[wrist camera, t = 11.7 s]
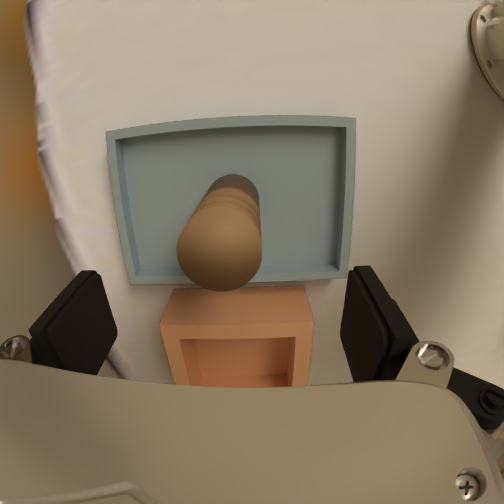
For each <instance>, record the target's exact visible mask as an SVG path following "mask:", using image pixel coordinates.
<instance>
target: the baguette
mask: <svg viewBox="0 0 504 504" xmlns="http://www.w3.org/2000/svg"><path fill="white" fill-rule="evenodd" d="M176 253H177V259H178V263H179V265H180V267H181V269H182V271H183V272H184V274H185V275H186V276H187V277H188V278H189V279H190V280H191V281H192V282H194V283H195V284H196V285H198V286H200V287H202V288H205V289H208V290H211V291H221V292H222V291H231V290H234V289H238V288H240V287H242V286H244V285H245V284H247V283H248V282H249V281H250V280H251V279H252V278H253V277H254V276H255V275H256V273H257V271H258V269H259V267H260V264H261V260H262V241H261V222H260V204H259V194H258V191H257V189H256V187H255V185H254V184H253V183H252V182H251V181H250V180H249V179H247V178H245V177H243V176H240V175H236V174H230V175H225V176H222V177H220V178H218V179H217V180H216V181H215V182H214V183H213V184H212V185H211V186H210V188H209V189H208V191H207V193H206V194H205V196H204V197H203V199H202V200H201V202H200V203H199V205H198V206H197V208H196V209H195V211H194V213H193V214H192V216H191V217H190V219H189V220H188V222H187V224H186V225H185V227H184V228H183V230H182V232H181V233H180V235H179V238H178V241H177V247H176Z"/></svg>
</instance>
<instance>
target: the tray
mask: <svg viewBox="0 0 504 504" xmlns="http://www.w3.org/2000/svg"><path fill="white" fill-rule="evenodd" d="M106 143H107V153H108V163H109V171H110V179H111V186H112V193H113V200H114V206H115V213H116V219H117V224H118V230H119V235H120V241H121V246H122V251H123V256H124V260H125V265H126V269H127V274H128V278H129V283H130V284H195V283H194V282H192V281H191V280H190V279H189V278H188V277H187V276H186V275H185V274H184V272H183V271H182V269H181V267H180V265H179V263H178V259H177V253H176V247H177V241H178V238H179V235H180V233H181V232H182V230H183V228H184V227H185V225H186V224H187V222H188V220H189V219H190V217H191V216H192V214H193V213H194V211H195V209H196V208H197V206H198V205H199V203H200V202H201V200H202V199H203V197H204V196H205V194H206V193H207V191H208V189H209V188H210V186H211V185H212V184H213V183H214V182H215V181H216V180H217V179H218V178H220V177H222V176H225V175H230V174H236V175H240V176H243V177H245V178H247V179H249V180H250V181H251V182H252V183H253V184H254V185H255V187H256V189H257V191H258V194H259V204H260V222H261V241H262V260H261V264H260V267H259V269H258V271H257V273H256V275H255V276H254V277H253V278H252V279H251V280H250V281H249V282H275V281H300V280H322V279H342V278H347V272H348V263H349V253H350V243H351V231H352V219H353V204H354V186H355V160H356V118H350V117H333V116H306V115H262V116H235V117H218V118H204V119H193V120H183V121H174V122H165V123H157V124H150V125H143V126H136V127H130V128H124V129H118V130H113V131H107V132H106Z"/></svg>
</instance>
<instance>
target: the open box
mask: <svg viewBox="0 0 504 504" xmlns="http://www.w3.org/2000/svg"><path fill="white" fill-rule="evenodd" d="M314 322H315V321H314V318H313V314H312V311H311V307H310V304H309V301H308V297H307V294H306V290H305V287H304V286H281V287H253V288H238V289H234V290H231V291H222V292H221V291H211V290H208V289H174V290H173V292H172V294H171V297H170V299H169V302H168V304H167V307H166V309H165V312H164V314H163V317H162V319H161V322H160V324H159V326H160V330H161V334H162V338H163V342H164V346H165V350H166V353H167V357H168V361H169V364H170V368H171V371H172V375H173V378H174V382H175V384H176V385H192V386H214V387H285V386H307V385H308V377H309V369H310V360H311V352H312V342H313V333H314Z"/></svg>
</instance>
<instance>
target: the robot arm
mask: <svg viewBox="0 0 504 504" xmlns="http://www.w3.org/2000/svg"><path fill="white" fill-rule="evenodd" d="M471 35H472V43H473V46H474V50H475V54H476V57H477V60H478V62H479V65H480V67H481V69H482V71H483V73H484V75H485V77H486V79H487V80H488V82H489V84H490V85H491V86H492V88H493V89H494V90H495V92H496V93H497V94H498V95H499V96H500V97H501V98H502V99H503V100H504V0H503V3H502V6H500V5H498V4H486V5H483V6H481V7H479V8H478V9H477V10H476V11H475V13H474V15H473V18H472V23H471ZM29 332H30V334H31V336H32V338H31V339H30V340H29V338H28V337H26V336H24V335H16V336H13V337H11V338H9V339H7V340H6V341H5V342H3V343H2V345H1V346H0V504H504V390H503V389H502V388H500V387H499V386H496V385H494V384H492V383H489V382H487V381H484V380H482V379H480V378H477V377H475V376H473V375H470V374H468V373H465V372H463V371H461V370H458V369H456V368H454V367H453V366H454V356H453V354H452V352H451V351H450V350H449V349H448V348H447V347H446V346H444V345H442V344H440V343H438V342H434V341H422V342H419V340H418V338H417V336H416V335H415V333H414V331H413V330H412V328H411V326H410V324H409V323H408V321H407V319H406V318H405V316H404V315H403V313H402V311H401V310H400V308H399V306H398V305H397V303H396V302H395V301H394V300H393V299H391V297H390V296H389V294H388V292H387V291H386V289H385V288H384V286H383V285H382V283H381V281H380V280H379V278H378V277H377V275H376V274H375V272H374V271H373V269H372V268H371V266H355V267H354V269H353V270H350V271H349V273H348V280H347V288H346V295H345V302H344V309H343V316H342V322H341V328H340V337H341V341H342V344H343V348H344V351H345V354H346V357H347V361H348V364H349V367H350V371H351V374H352V378H353V381H354V382H351V383H336V384H322V385H307V386H285V387H214V386H192V385H176V384H163V383H152V382H143V381H134V380H126V379H118V378H111V377H104V376H97V373H98V371H99V370H100V368H101V366H102V364H103V362H104V360H105V358H106V356H107V355H108V353H109V351H110V349H111V347H112V345H113V343H114V342H115V340H116V338H117V327H116V324H115V321H114V318H113V315H112V312H111V309H110V306H109V302H108V299H107V296H106V292H105V289H104V285H103V282H102V278H101V276H100V275H99V274H97V272H96V271H95V270H82V271H81V272H80V273H79V274H78V275H77V276H76V277H75V278H74V279H73V280H72V281H71V282H70V283H69V284H68V285H67V287H66V288H65V289H64V290H63V291H62V292H61V293H60V294H59V295H58V296H57V298H56V299H55V300H54V301H53V302H52V303H51V304H50V305H49V306H48V308H47V309H46V310H45V311H44V312H43V313H42V315H41V316H40V317H39V318H38V319H37V320H36V321H35V323H34V324H33V325H32V326H31V328H30V329H29Z"/></svg>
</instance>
